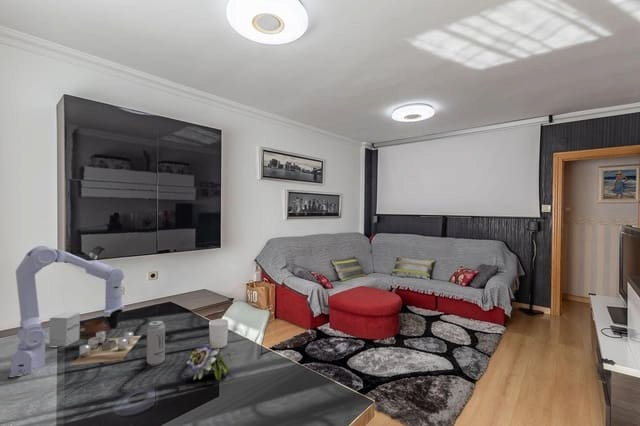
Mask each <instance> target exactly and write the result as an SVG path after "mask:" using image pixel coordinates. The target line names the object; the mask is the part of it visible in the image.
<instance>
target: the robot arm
mask: <svg viewBox="0 0 640 426" xmlns="http://www.w3.org/2000/svg"><path fill="white" fill-rule="evenodd" d="M64 262H65V263H68V264H71V265H73V266H77V267H79V268H82V269H84V270H85V273H86V274H87V275H88V274H89V275H90V276H94V277H95V278H99V279H101V280H105V296H104V297H105V298H104V299H105V306H104V311H103V318H105V319H106V320H107V323H108V327H109V328H110V329H111V330H113V329H114V330H115V329H117V328H118V324H119V321H120V317H121V314H122V313H123V309H124V308H125V304H123V301H122V300H123V299H122V294H123V293H122V290H123V289H122V287H123V284H122V281H123V279H125V274H124V272H123V270H121V269H119V268H115V267H114V265H112V264H111V265H109V264H106V263H104V262H103V260H100V259H98V260H97V259H96V260H95V259H94V260H92V261H90V260H86V259H84V258H82V257H80V256H77V255H75V254H72V253H70V252H68V251H64V250H60V249H58V248H57V249H56V248H51V247H48V246H44V245H38V246H36V247H34V248H32V249H30V250H29V251H28V252H26V253H25V256H24V258H23V260H21V262H20V264H19V265H18V266H17V268H16V269H15V278H16V287H17V289H16V290H17V295H18V306H19V307H18V308H19V314H20V321H19V324H20V325H19V326H20V327H19V329H18V331H17V338H18V339H19V340H20V341H19V343H18V344H17V349H16V352H15V354H13V356H12V357H11V358H10V375H11V376H17V375H20V374H24V373H32V372H33V371H35V370H36V369H37V370H39V369H40V368H39V367H41V366H43V365H44V364H45V365H46V337H47V333H46V331H45V330H44V329H43V327H42V322H41V319H40V313H39V311H40V310H39V302H38V292H37V283H36V274H37V273H39V272H40V271H41V270H42V269H43V268H45V267H47V266H49V265H51V264H53V263H56V264H57V263H64ZM45 365H44V366H45ZM44 366H43V367H44ZM38 368H39V369H38ZM41 368H42V367H41ZM37 370H36V371H37ZM36 371H35V372H36ZM33 373H34V372H33ZM33 373H32V374H33Z"/></svg>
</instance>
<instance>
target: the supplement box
mask: <svg viewBox="0 0 640 426" xmlns="http://www.w3.org/2000/svg"><path fill="white" fill-rule="evenodd" d="M80 314H81V313H80V312H63V313H60V314H57V315H55V316H51V317H49V332H48V333H49V335H48V336H49V337H48V338H49V339H48V340H49V344H48V345H49V346H61V347H68V346H69V345H71V344H73V343H75V342H77V341H79V340H80V337H79V332H80V331H81V328H80V327H81V324H80V322H81V320H80ZM49 346H48V347H49Z"/></svg>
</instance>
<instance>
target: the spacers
mask: <svg viewBox="0 0 640 426" xmlns="http://www.w3.org/2000/svg"><path fill="white" fill-rule="evenodd" d="M106 335H107V334H106V331H99V332H97V333H96V335H95V336H96V337H93V338H87V340H88V341H87V343H86V344H81V345H80V346H79V356H80V358H86V357H89V356H90V355H91V350H95V349H97V348H98V343H102V342H104V341H105V339H106V337H107V336H106ZM133 336H134V332H133V331H127V332H124V333H123V337H124V338H121V339H119V340H118V351H124V350H127V349H128V344H130V343H133Z"/></svg>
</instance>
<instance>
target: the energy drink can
mask: <svg viewBox="0 0 640 426" xmlns="http://www.w3.org/2000/svg"><path fill="white" fill-rule="evenodd" d="M165 359H166V325H165V324H164V321H163V320H154V321H150V322H149V323H148V326H147V328H146V363H147V364H149V367H154V366H155V367H156V366H159V365H161V364H162V363H164V361H165Z"/></svg>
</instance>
